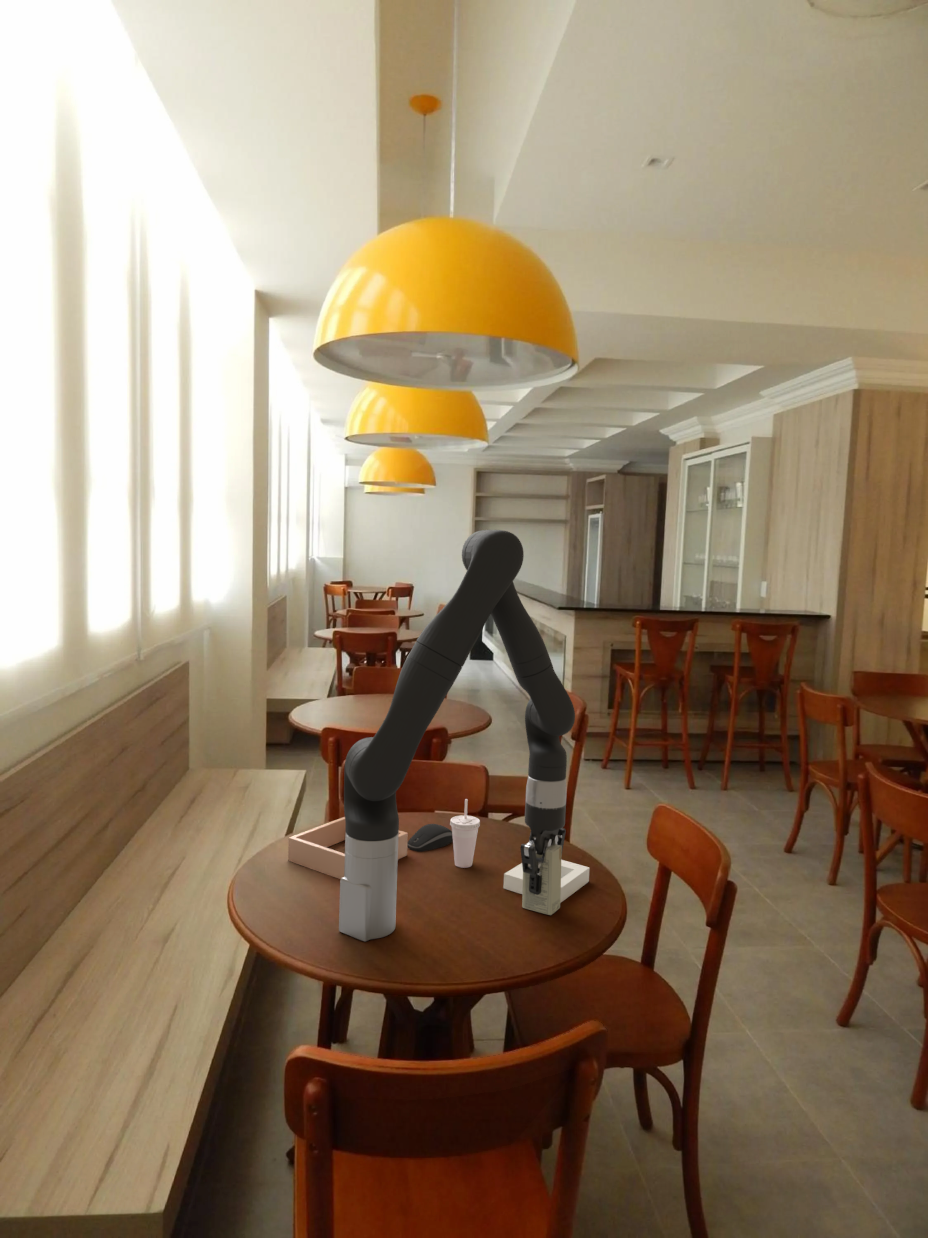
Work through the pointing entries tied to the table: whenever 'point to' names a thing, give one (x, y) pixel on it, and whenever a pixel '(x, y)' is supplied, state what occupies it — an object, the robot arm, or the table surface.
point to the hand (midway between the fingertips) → (541, 888)
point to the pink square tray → (318, 857)
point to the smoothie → (464, 838)
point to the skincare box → (545, 884)
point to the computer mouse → (430, 838)
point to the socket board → (570, 878)
